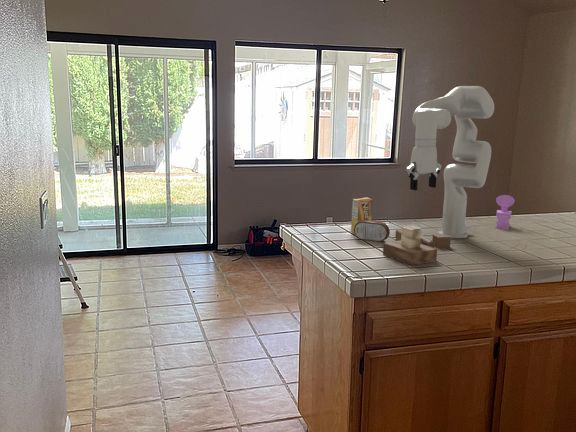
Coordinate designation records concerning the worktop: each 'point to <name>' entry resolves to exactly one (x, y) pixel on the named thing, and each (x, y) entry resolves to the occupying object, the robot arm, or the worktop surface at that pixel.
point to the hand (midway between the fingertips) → (422, 188)
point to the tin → (371, 230)
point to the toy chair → (504, 211)
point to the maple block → (411, 236)
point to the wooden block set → (437, 240)
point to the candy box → (361, 211)
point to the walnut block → (409, 253)
